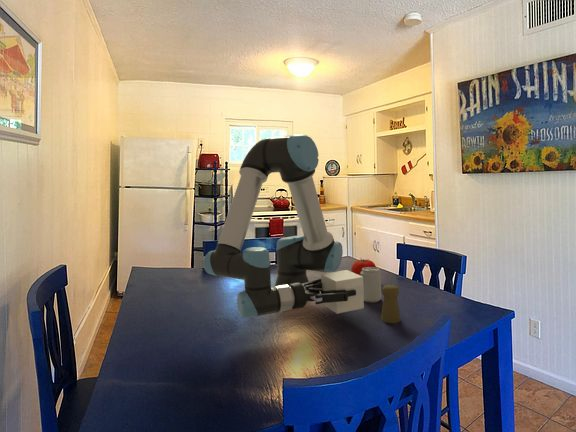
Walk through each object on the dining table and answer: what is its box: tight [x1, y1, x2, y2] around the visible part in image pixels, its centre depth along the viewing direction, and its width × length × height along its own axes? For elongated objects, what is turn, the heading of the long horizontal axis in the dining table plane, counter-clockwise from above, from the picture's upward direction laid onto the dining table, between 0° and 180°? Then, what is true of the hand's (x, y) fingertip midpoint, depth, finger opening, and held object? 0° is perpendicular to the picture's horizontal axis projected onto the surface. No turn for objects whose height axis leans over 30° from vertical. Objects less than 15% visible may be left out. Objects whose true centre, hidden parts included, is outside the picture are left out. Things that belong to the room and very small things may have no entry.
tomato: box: [350, 257, 377, 276], centre depth 160 cm, size 11×13×10 cm
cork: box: [380, 284, 401, 324], centre depth 115 cm, size 6×6×11 cm
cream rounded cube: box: [320, 269, 365, 315], centre depth 115 cm, size 10×10×10 cm
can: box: [361, 267, 382, 303], centre depth 135 cm, size 8×8×12 cm
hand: (353, 285), depth 116 cm, fingers closed on cream rounded cube, 10 cm apart
